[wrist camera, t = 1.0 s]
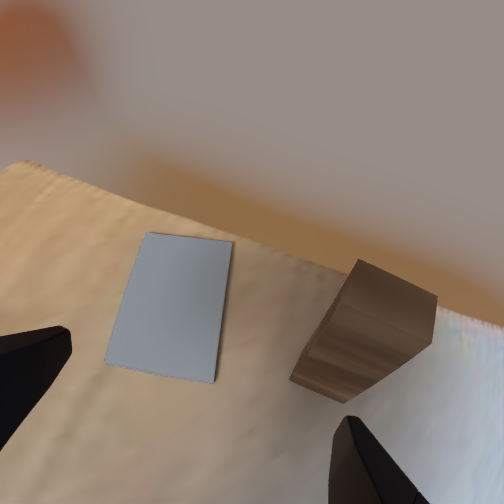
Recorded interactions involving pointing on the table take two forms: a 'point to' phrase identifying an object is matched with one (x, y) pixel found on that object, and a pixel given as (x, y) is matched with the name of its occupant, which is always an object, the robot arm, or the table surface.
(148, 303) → the mat
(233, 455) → the table surface
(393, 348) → the walnut slab
